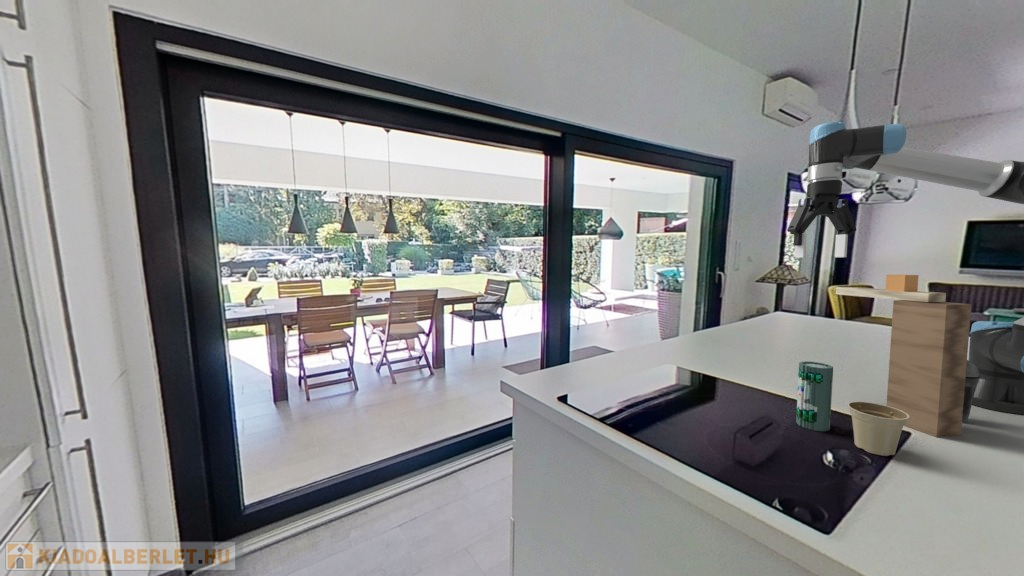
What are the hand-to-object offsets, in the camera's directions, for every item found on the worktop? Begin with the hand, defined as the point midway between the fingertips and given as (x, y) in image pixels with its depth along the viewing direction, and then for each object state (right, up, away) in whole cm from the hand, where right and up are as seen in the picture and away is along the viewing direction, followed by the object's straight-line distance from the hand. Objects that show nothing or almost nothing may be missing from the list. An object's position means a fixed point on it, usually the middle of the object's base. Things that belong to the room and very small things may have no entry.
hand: (820, 257), depth 107 cm
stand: (+11, -42, -17) cm, 46 cm away
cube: (+9, -9, -13) cm, 19 cm away
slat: (+9, -11, -10) cm, 17 cm away
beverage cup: (+23, -42, -12) cm, 49 cm away
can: (-15, -42, -16) cm, 47 cm away
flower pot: (-11, -43, -27) cm, 52 cm away
